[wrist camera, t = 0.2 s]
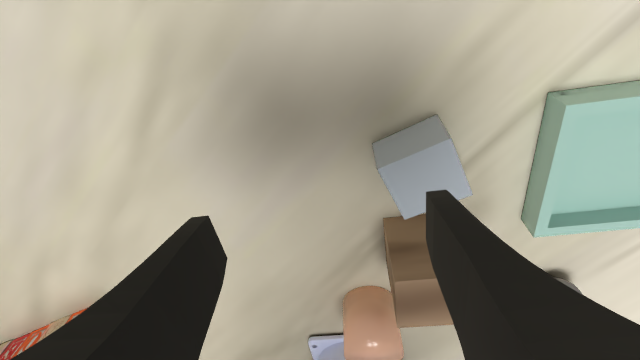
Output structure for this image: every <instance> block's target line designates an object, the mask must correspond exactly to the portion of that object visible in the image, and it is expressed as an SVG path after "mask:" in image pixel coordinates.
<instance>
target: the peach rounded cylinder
mask: <svg viewBox="0 0 640 360" xmlns="http://www.w3.org/2000/svg"><path fill="white" fill-rule="evenodd" d="M343 334H344V357H345V359H346V360H402V358H403V356H404V351H403V345H402V339H401V333H400V328H397V323H396V317H395V311H394V305H393V298H392V294H391V293H390V292H389V291H388V290H386V289H384V288H381V287H377V286H363V287H359V288H356V289H353V290H351V291H350V292H348V293H347V294H346V295H345V297H344V299H343Z"/></svg>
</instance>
